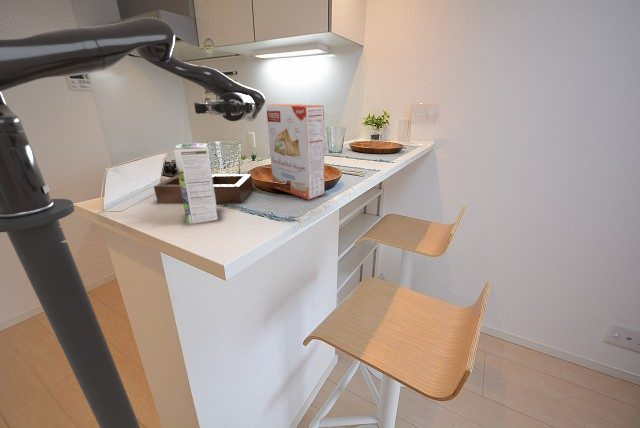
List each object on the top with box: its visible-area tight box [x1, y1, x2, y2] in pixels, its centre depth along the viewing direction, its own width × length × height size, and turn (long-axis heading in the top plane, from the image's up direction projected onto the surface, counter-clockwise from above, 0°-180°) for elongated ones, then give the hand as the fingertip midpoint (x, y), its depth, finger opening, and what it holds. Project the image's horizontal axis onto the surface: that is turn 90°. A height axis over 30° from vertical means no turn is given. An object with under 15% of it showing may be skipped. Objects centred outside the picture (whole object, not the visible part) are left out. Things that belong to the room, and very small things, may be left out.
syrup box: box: [173, 142, 219, 225], centre depth 55 cm, size 6×6×14 cm
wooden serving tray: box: [153, 174, 254, 204], centre depth 70 cm, size 20×11×4 cm, turn 88°
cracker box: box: [265, 103, 326, 201], centre depth 69 cm, size 14×6×21 cm, turn 45°
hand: (215, 108), depth 68 cm, fingers open, 8 cm apart
